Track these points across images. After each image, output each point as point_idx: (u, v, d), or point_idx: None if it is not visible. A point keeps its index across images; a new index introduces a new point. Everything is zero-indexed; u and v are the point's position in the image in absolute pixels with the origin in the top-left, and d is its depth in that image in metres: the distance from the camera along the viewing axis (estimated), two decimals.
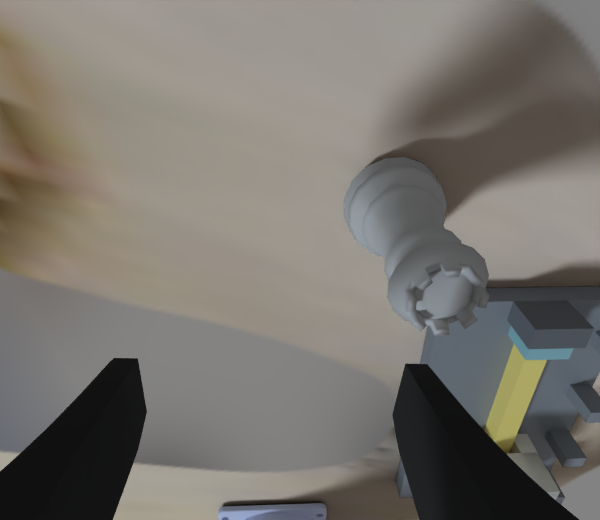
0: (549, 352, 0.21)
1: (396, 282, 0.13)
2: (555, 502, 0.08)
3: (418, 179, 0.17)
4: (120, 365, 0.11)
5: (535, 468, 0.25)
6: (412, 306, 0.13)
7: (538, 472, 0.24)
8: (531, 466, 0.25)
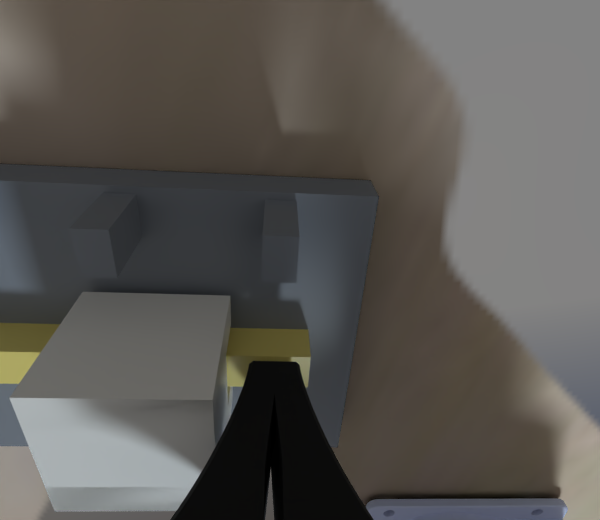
0: None
1: None
2: (356, 503, 0.07)
3: None
4: (265, 368, 0.11)
5: None
6: None
7: None
8: None
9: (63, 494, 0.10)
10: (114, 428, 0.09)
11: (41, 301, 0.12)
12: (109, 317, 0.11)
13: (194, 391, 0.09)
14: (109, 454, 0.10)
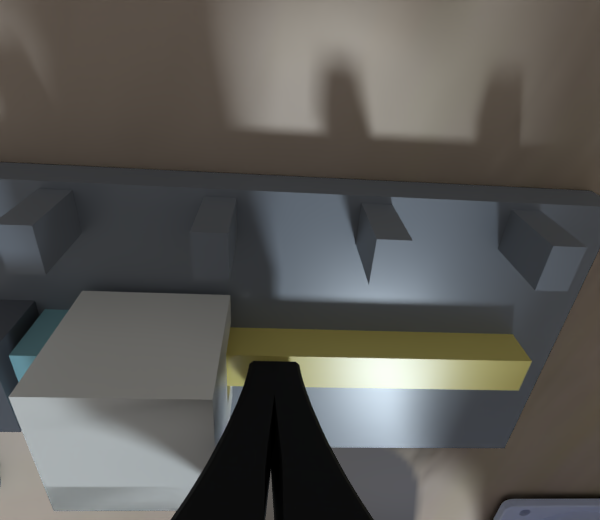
0: None
1: None
2: (356, 503, 0.07)
3: None
4: (264, 368, 0.11)
5: None
6: None
7: None
8: None
9: (62, 493, 0.10)
10: (114, 428, 0.09)
11: (269, 306, 0.13)
12: (109, 316, 0.11)
13: (194, 391, 0.09)
14: (108, 454, 0.10)
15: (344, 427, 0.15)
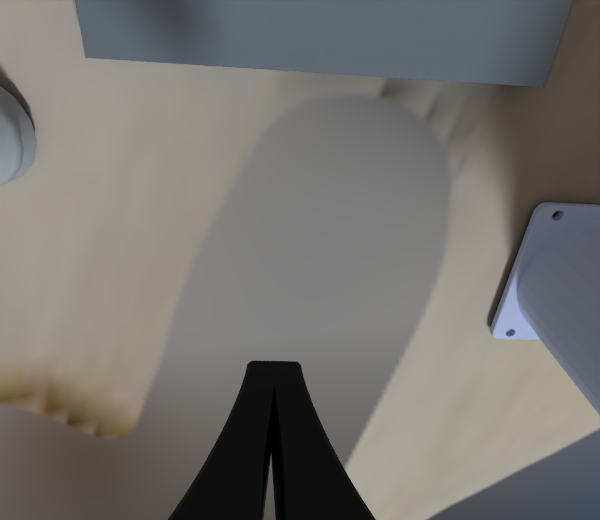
0: None
1: None
2: (358, 503, 0.07)
3: None
4: (263, 368, 0.11)
5: None
6: None
7: None
8: None
9: None
10: None
11: None
12: None
13: None
14: None
15: (386, 42, 0.15)
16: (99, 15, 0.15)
